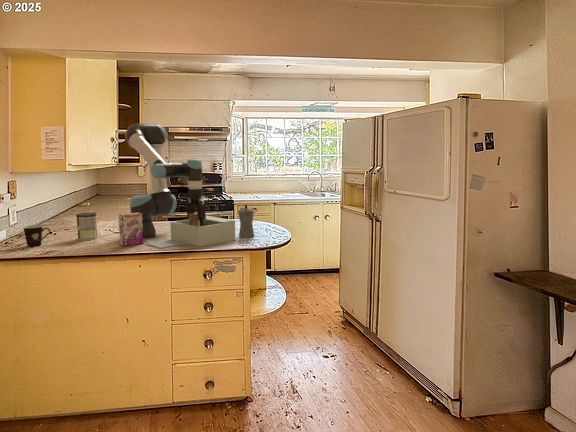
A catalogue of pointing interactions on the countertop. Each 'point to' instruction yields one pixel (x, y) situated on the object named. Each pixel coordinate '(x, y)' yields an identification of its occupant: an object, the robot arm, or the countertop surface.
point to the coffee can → (87, 226)
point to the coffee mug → (34, 235)
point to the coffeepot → (246, 222)
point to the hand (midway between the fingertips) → (196, 231)
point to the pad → (165, 244)
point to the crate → (203, 231)
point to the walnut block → (194, 219)
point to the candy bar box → (131, 229)
